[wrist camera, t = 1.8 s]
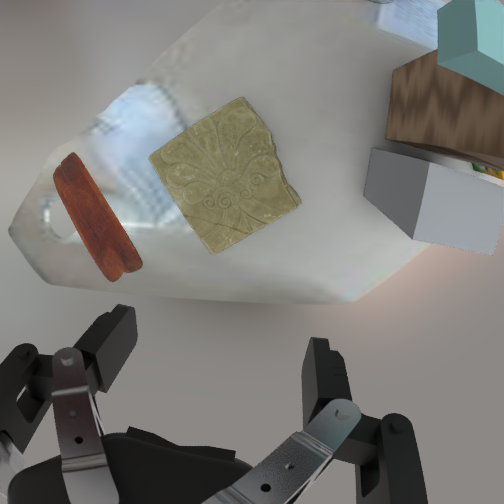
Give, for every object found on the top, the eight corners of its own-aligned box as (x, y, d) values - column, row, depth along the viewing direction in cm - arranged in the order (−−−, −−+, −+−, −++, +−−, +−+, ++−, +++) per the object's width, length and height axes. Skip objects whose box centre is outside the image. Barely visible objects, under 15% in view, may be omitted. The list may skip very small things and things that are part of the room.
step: (371, 148, 44) (429, 161, 25) (434, 164, 44) (510, 190, 24) (363, 195, 47) (412, 239, 28) (425, 209, 47) (492, 255, 27)
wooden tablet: (147, 263, 56) (144, 267, 55) (113, 282, 59) (109, 286, 57) (79, 145, 49) (74, 146, 47) (50, 174, 51) (45, 175, 50)
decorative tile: (214, 251, 54) (210, 259, 51) (152, 155, 48) (143, 157, 45) (310, 200, 49) (312, 205, 46) (246, 93, 43) (244, 90, 40)
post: (393, 70, 39) (521, 16, 9) (453, 91, 38) (595, 83, 9) (384, 138, 43) (520, 162, 14) (445, 156, 43) (588, 203, 13)
